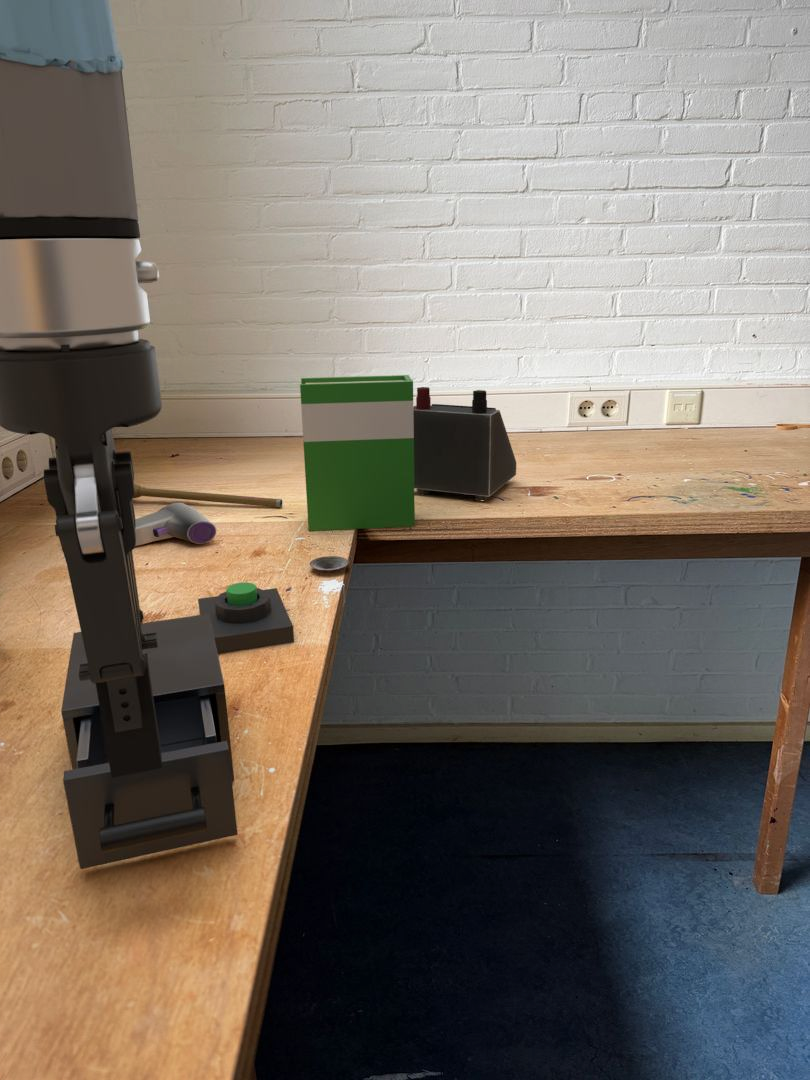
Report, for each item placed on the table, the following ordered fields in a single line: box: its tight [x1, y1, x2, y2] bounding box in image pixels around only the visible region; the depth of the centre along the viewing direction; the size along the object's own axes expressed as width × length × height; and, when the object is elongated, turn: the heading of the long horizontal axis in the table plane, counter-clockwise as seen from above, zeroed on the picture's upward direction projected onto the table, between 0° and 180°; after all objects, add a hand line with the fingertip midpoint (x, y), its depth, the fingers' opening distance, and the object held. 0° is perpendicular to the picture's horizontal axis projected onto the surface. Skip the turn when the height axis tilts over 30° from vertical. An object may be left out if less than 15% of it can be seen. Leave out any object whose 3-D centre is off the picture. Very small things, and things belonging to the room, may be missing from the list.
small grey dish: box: [309, 555, 350, 573], centre depth 115 cm, size 6×6×1 cm
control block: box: [197, 587, 295, 655], centre depth 97 cm, size 12×10×4 cm
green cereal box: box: [299, 374, 416, 532], centre depth 132 cm, size 18×7×24 cm, turn 95°
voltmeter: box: [413, 386, 517, 501], centre depth 151 cm, size 16×16×20 cm
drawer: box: [62, 695, 238, 870], centre depth 63 cm, size 18×11×8 cm, turn 18°
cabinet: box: [60, 614, 235, 782], centre depth 72 cm, size 15×13×10 cm
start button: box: [225, 581, 258, 606], centre depth 96 cm, size 4×4×2 cm
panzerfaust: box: [133, 483, 283, 509], centre depth 147 cm, size 5×35×5 cm
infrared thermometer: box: [135, 502, 217, 547], centre depth 126 cm, size 5×12×15 cm
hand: (137, 765), depth 45 cm, fingers closed
